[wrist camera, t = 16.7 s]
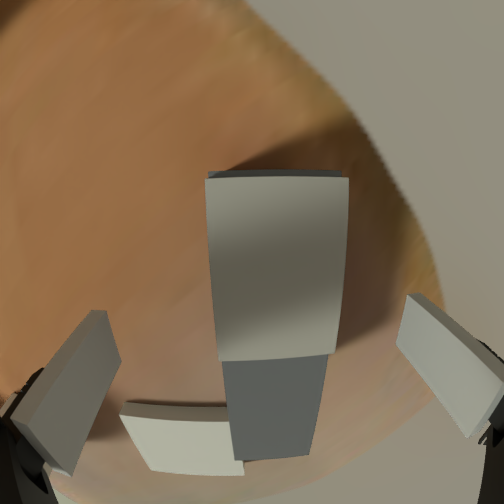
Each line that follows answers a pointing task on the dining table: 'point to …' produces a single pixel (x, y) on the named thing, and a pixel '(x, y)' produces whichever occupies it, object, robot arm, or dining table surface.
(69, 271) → the dining table surface
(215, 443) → the tile
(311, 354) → the grey rectangular block
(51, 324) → the dining table surface
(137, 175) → the dining table surface
